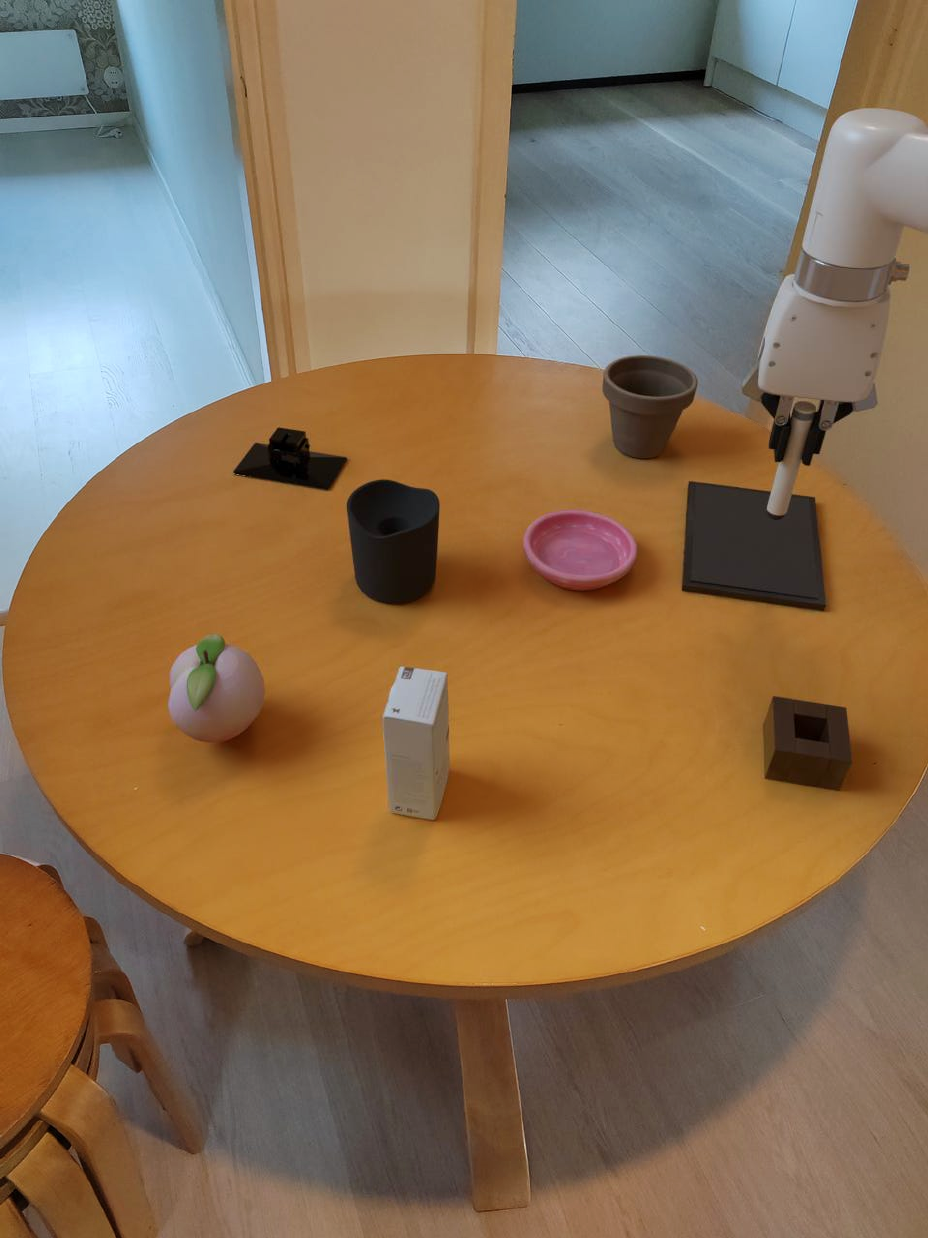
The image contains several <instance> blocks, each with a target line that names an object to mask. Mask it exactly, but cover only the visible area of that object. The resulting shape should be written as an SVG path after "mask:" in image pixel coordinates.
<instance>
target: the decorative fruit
mask: <svg viewBox="0 0 928 1238" xmlns="http://www.w3.org/2000/svg"><path fill="white" fill-rule="evenodd" d="M169 684H170V688H171V689H170V694H169V697H168V701H167V703H168V705H167V706H168V707H167V709H168V713H169V716H170V718H171V720H172V721H173V723H174V724H175V726H176V727H177V728H178V729H179V730H180V731H181V732H182V733H183V734H185V735H186V736H188V737H190V738H191V739H194V740H196V741H199V742H203V743H209V744H210V743H211V744H212V743H213V744H214V743H215V744H216V743H221V742H225V741H229V740H231V739H233V738H236V737H237V736H239V735H240V734H241V733H243V732H244V731H245V730H246V729H248V727H249V726H251V724H252V723H253V722H254V721H255V720H256V719H257V717H258V715H259V714H260V712H261V710H262V708H263V704H264V702H265V701H264V700H265V691H266V690H265V680H264V677H263V674H262V671H261V669H260V667H259V664H258V662H257V661H256V660H255V659H254V658H253V657H252V656H251V655H250V654H249V653H248V652H247V651H246V650H243V649H242V648H240V647H237V646H235V645H231V644H226V641H225V638H224V637H223V636H222V635H220V634H218V633H211V634H207V635H206V636H204V637H203V638H202V639H201V640H200V641H199V642H198V643H197V644H196V645H193V646H190V647H189V648H187V649H185V650H184V651H182V652H181V653H180V654H179V655H178V656H177V658H176V659H175V661H174V662H173V664H172V667H171V668H170V672H169Z"/></svg>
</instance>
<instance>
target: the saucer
mask: <svg viewBox="0 0 928 1238" xmlns="http://www.w3.org/2000/svg"><path fill="white" fill-rule="evenodd" d="M522 550H523V554H524V556H525V558H526V560H527V562H528V563H529V564H530V566H531V567H532V568H533V569H534V570H535V571H536V573H538V574H540V575H541V576H542V577H543V578H544V579H546V580H547V581H548V582H549V583H552V584H553V585H555V586H557V587H560V588H563V589H567V590H573V591H593V590H598V589H602V588H605V587H606V586H608V585H611V584H613V583H615V582H617V581H618V580H620V579H621V578H623V577H624V576H626V575H627V574H628V573H629V572H630V571H631V570H632V568H633V567H634V566H635V563H636V560H637V556H638V545H637V541H636V539H635V537H634V535H633V534H632V533H631V531H630V530H629V529H628V528H627V527H626V526H624V525H623V524H621V523H620V522H619V521H617V520H615V519H613V518H612V517H610V516H607V515H605V514H602V513H599V512H595V511H591V510H585V509H562V510H556V511H552V512H549V513H546V514H544V515H541V516H539V517H538V518H537V519H535V520H534V521H532V522H531V523H530V524H529V526H528V527H527V528H526V530H525V532H524V534H523V540H522Z"/></svg>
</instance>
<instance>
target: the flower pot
mask: <svg viewBox="0 0 928 1238" xmlns="http://www.w3.org/2000/svg"><path fill="white" fill-rule="evenodd" d="M602 378H603V379H602V394H603V396H604V397H605V399H606V400H607V401H608V406H609V415H610V427H611V434H612V435H611V436H612V441H613V446H614V447H615V448H616V450H617V451H618V452H620V453H621V454H623V455H626V456H628V457H631V458H636V459H650V458H654V457H657V456H659V455H660V454H662V452H663V451H664V450H665V448H666V447H667V444H668V443H669V441H670V439H671V437H672V435H673V432H674V431H675V428H676V427H677V424H678V422H679V420H680V418H681V415H682V413H683V411H684V410H686V409H688V408H689V407H690V406H691V405H692V404H693V402H694V399H695V396H696V392H697V388H698V383H699V381H698V378H697V375H696V374H695V373H694V372H693V371H692V370H691V368H689V367H687V366H686V365H684V364H682V363H680V362H678V361H676V360H674V359H670V358H666V357H662V356H655V355H645V354H636V355H627V356H623V357H620V358H617V359H615V360H613V361H612V362H610V363H608V364H607V366H606V367H605V369H604V371H603V377H602Z"/></svg>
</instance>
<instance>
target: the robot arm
mask: <svg viewBox="0 0 928 1238" xmlns="http://www.w3.org/2000/svg"><path fill="white" fill-rule="evenodd" d="M807 220H808V221H807V224H806V227H805V231H804V235H803V239H802V243H801V247H800V251H799V254H798V255H799V256H798V260H797V264H796V268H795V272H794V273H790V274H788V275H786V276H785V277H784V279H783V281H782V283H781V284H780V287H779V289H778V291H777V294H776V296H775V299H774V301H773V304H772V307H771V309H770V313H769V316H768V319H767V323H766V326H765V330H764V332H763V334H762V335H763V336H762V339H761V343H760V345H759V346H760V347H759V349H758V350H759V351H758V353H757V354H758V355H757V360H756V363H755V365H754V366H753V367H752V368H751V370H750V371H749V372H748V374H747V375H746V377H745V378H744V379H743V380H742V382H741V393H742V394H743V395H744V396H746V397H748V398H749V399H752V400H753V401H755V402H759V403H761V405H762V406H763V407H764V409H765V410H766V411H767V412H768V413H769V414H770V417H772V418H773V423H772V427H771V431H770V434H769V439H768V449H769V450H773V456H774V457H773V459H774V463H779V462H781V461H783V458H784V455H785V451H786V447H787V444H788V440H789V436H790V432H791V422H790V419H791V411H792V408H793V403H794V400H795V398H798V399H799V398H800V399H809V400H817V401H819V402H818V406H817V408H816V412H815V415H814V418H813V421H812V425H811V428H810V431H809V435H808V438H807V442H806V445H805V449H804V452H803V456H802V460H801V465H803V466H806V467H810V466H811V463H812V460H813V456H814V455H820V453H821V450H822V446H823V444H824V440H825V437H826V433H827V431H830V430H831V429H832V428H833V426H834V425H835V424H836V423H837V422H840V421H841V420H843V419H844V418H846V417H848V416H849V415H851V414H852V413H858V412H862V411H868V410H871V409H874V408H876V407H877V406H878V398H877V397H878V396H877V391H876V390H877V389H876V383H875V381H876V378H877V375H878V371H879V365H880V361H881V358H882V352H883V350H884V349H883V348H884V344H885V340H886V339H885V338H886V334H887V328H888V322H889V315H890V305H891V289H890V287H889V286H891V285H892V282H895V283H896V282H898V281H900V282H901V281H903V282H905V281H907V279H908V277H909V272H910V264H907V263H901V261H897V258H896V254H897V253H898V252H897V251H898V248H899V245H900V242H901V239H902V235H903V233H904V229H905V227H906V228H909V229H911V230H915V231H917V232H920V233H923V234H926V235H928V125H927V123H925V121H924V120H922V119H921V118H919V117H917V116H915V115H914V114H911V113H909V112H905V111H901V110H897V109H891V108H878V107H869V108H868V107H865V108H859V109H853V110H850V111H847V112H845V113H844V114H842V115H840V116H839V117H838V118H837V119H836V120H835V121H834V123H833V125H832V126H831V128H830V130H829V134H828V136H827V141H826V143H825V148H824V152H823V156H822V161H821V165H820V169H819V173H818V177H817V181H816V185H815V189H814V193H813V197H812V202H811V207H810V211H809V215H808V219H807Z"/></svg>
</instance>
